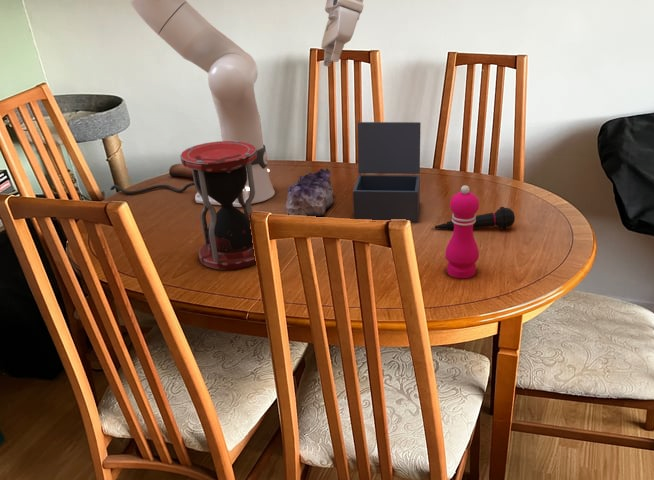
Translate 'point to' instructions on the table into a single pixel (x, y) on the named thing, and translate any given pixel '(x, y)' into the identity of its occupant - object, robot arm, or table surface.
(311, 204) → the geode
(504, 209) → the microphone
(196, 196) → the robot arm
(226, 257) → the hourglass
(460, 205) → the pepper mill
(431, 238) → the table surface
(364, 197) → the case
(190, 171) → the sunglasses case
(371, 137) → the lid
